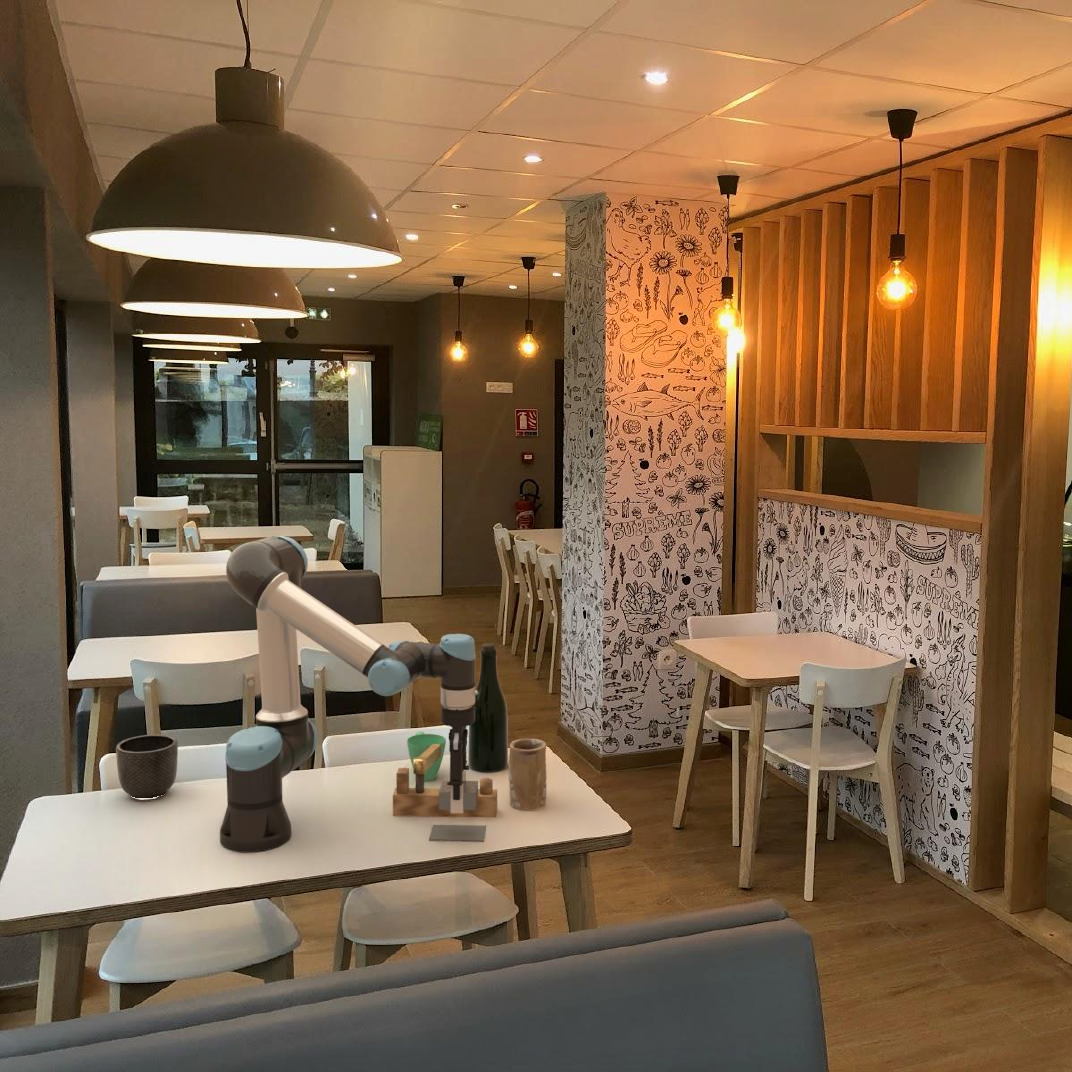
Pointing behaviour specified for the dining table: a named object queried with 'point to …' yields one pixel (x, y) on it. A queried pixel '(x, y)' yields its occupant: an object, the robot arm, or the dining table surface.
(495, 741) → the green wine bottle
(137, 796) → the planter
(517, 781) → the mug
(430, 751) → the lever
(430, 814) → the body
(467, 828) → the mat
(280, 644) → the robot arm
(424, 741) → the mug
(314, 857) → the dining table surface
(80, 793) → the dining table surface
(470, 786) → the grey stone cube
